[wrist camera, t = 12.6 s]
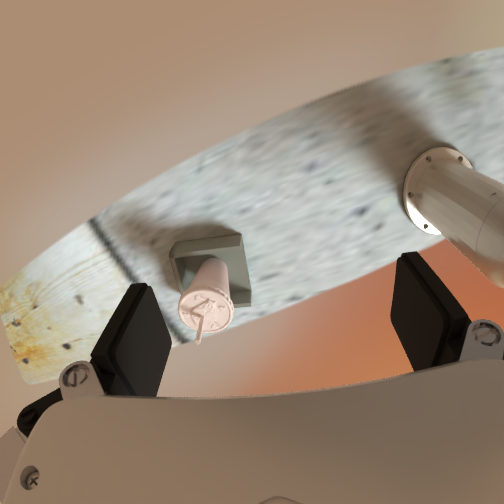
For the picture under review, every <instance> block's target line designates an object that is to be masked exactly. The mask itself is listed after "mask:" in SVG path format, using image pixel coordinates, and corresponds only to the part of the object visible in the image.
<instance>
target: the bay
mask: <svg viewBox="0 0 504 504" xmlns="http://www.w3.org/2000/svg"><path fill="white" fill-rule="evenodd" d="M169 257H170V261H171V264H172V268H173V271H174V274H175V277H176V281H177V284H178V287H179V290H180V294H181V295H182V294H183V292H184V291H186V290H187V289H188V288H189V286H190V284H191V283H192V281H193V279H194V277H195V275H196V274H197V272H198V270H199V268H200V267H201V265H202V263H203V262H204V261H205V260H206V259H208V258H219V259H221V260H222V261H224V262H225V264H226V265H227V270H228V281H229V292H230V299H231V301H232V303H233V307H234V308H238V307H248V306H251V293H252V291H251V286H250V280H249V274H248V269H247V263H246V257H245V251H244V246H243V240H242V234H238V235H230V236H222V237H214V238H206V239H198V240H191V241H183V242H176V243H175V244H174V246H173V247H172V249H171V251H170V253H169Z"/></svg>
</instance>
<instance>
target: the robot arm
mask: <svg viewBox="0 0 504 504" xmlns="http://www.w3.org/2000/svg"><path fill="white" fill-rule="evenodd" d="M426 157H427V159H426ZM408 193H409V194H408ZM403 201H404V206H405V210H406V212H407V214H408V216H409V218H410V219H411V221H412V222H413V223H414V224H415V225H416V226H417V227H418V228H419V229H421V230H422V231H424V232H427V233H430V234H442V235H443V236H444V237H445V238H446V239H448V240H449V241H450V242H451V243H452V244H453V245H454V246H455V247H456V248H457V249H458V250H459V251H461V253H462V254H463V255H464V256H466V257H467V258H468V259H469V260H470V261H471V262H472V263H473V264H474V265H475V266H476V267H477V268H478V269H479V270H480V271H481V272H482V273H483V274H484V275H485V276H486V277H487V278H488V279H489V280H490V281H491V282H492V283H493V284H495V285H497V286H499V287H501V288H504V184H502V183H500V182H498V181H496V180H494V179H492V178H490V177H488V176H486V175H483V174H481V173H479V172H477V171H475V170H473V168H472V166H471V164H470V162H469V161H468V159H467V158H466V157H465V156H464V155H463V154H461V153H460V152H459V151H457V150H454V149H452V148H448V147H435V148H431V149H429V150H427V151H425V152H424V153H423V154H421V155H420V156H419V157H418V158H417V159H416V160H415V161H414V162H413V164H412V165H411V167H410V169H409V171H408V173H407V176H406V178H405V182H404V187H403ZM390 316H391V322H392V324H393V327H394V329H395V331H396V333H397V335H398V337H399V339H400V341H401V343H402V346H403V348H404V350H405V352H406V354H407V357H408V358H409V361H410V363H411V365H412V368H413V370H414V372H410V373H406V374H401V375H396V376H391V377H387V378H382V379H377V380H372V381H366V382H360V383H355V384H349V385H342V386H336V387H329V388H322V389H314V390H306V391H297V392H287V393H277V394H265V395H250V396H230V397H156V395H157V392H158V389H159V385H160V382H161V379H162V375H163V372H164V369H165V365H166V362H167V359H168V356H169V352H170V349H171V345H172V341H171V337H170V334H169V332H168V329H167V327H166V324H165V321H164V319H163V316H162V314H161V311H160V308H159V306H158V303H157V300H156V297H155V295H154V292H153V289H152V287H151V286H148V285H147V284H146V283H136V284H131V285H130V287H129V288H128V290H127V291H126V293H125V295H124V296H123V298H122V300H121V301H120V303H119V305H118V307H117V308H116V310H115V312H114V313H113V315H112V317H111V319H110V320H109V322H108V324H107V326H106V327H105V329H104V331H103V333H102V334H101V336H100V338H99V340H98V342H97V343H96V345H95V347H94V349H93V351H92V353H91V354H90V356H91V357H92V359H91V360H90V362H87V361H77V362H74V363H72V364H70V365H68V366H67V367H66V368H65V369H64V370H63V371H62V373H61V374H60V377H59V385H60V388H58V389H56V390H55V391H53V392H51V393H49V394H48V395H46V396H44V397H42V398H41V399H39V400H37V401H35V402H34V403H32V404H30V405H28V406H27V407H25V408H24V409H23V410H22V411H21V413H20V414H19V416H18V419H17V426H18V427H17V428H14V427H12V428H11V429H9V430H8V431H7V432H6V433H5V434H4V435H3V436H2V437H1V438H0V500H1V502H2V504H504V332H503V330H502V328H501V327H500V326H499V325H497V324H496V323H494V322H492V321H490V320H485V319H480V320H476V321H473V322H471V320H470V319H469V317H468V315H467V313H466V312H465V310H464V309H463V308H462V307H461V305H460V304H459V303H458V301H457V300H456V299H455V297H454V296H453V295H452V293H451V292H450V291H449V290H448V288H447V287H446V286H445V284H444V283H443V282H442V281H441V280H440V278H439V277H438V276H437V275H436V274H435V272H434V271H433V270H432V269H431V268H430V267H429V265H428V264H427V263H426V262H425V260H424V259H423V258H422V257H421V256H420V254H419V253H418V252H416V251H415V252H407V253H402V255H401V257H399V258H398V259H397V266H396V276H395V285H394V293H393V300H392V307H391V315H390Z"/></svg>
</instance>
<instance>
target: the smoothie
mask: <svg viewBox="0 0 504 504" xmlns="http://www.w3.org/2000/svg"><path fill="white" fill-rule="evenodd" d="M233 311H234V307H233V303H232V301H231V299H230V292H229V281H228V270H227V265H226V264H225V262H224V261H222V260H221V259H219V258H208V259H206V260H205V261H204V262H203V263H202V265H201V267H200V268H199V270H198V272H197V274H196V275H195V277H194V279H193V281H192V283H191V284H190V286H189V288H188V289H187V290H186V291H184V292H183V294H182V295H181V297H180V300H179V304H178V313H179V316H180V318H181V320H182V321H183V322H184V323H185V324H186V325H187V326H188V327H190V328H191V329H193V330H196V331H197V335H196V340H195V343H196V344H200V341H201V337H202V332H203V333H214V332H218V331H221V330H223V329H224V328H226V327H227V326H228V325H229V324H230V322H231V320H232V317H233Z"/></svg>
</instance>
